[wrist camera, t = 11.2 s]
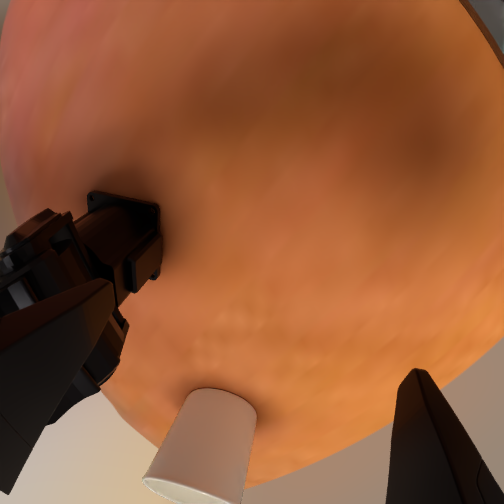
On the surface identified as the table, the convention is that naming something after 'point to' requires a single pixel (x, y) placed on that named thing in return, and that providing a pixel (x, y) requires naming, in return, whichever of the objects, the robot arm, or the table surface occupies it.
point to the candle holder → (205, 450)
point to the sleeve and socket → (489, 22)
